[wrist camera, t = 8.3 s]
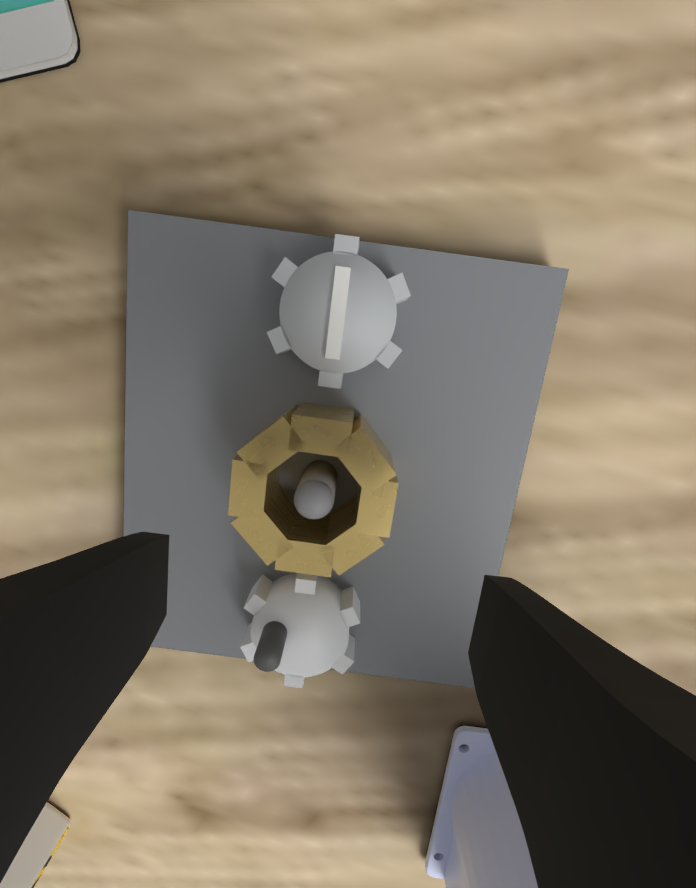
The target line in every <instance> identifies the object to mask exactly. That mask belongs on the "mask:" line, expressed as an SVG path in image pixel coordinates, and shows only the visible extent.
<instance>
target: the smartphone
mask: <svg viewBox="0 0 696 888" xmlns="http://www.w3.org/2000/svg"><path fill="white" fill-rule="evenodd" d="M79 53H80V40H79V36H78V32H77V28H76V25H75V21H74V17H73V13H72V10H71V6H70V2H69V0H0V83H1V82H5V81H9V80H13V79H17V78H22V77H26V76H30V75H34V74H39V73H43V72H47V71H51V70H55V69H60V68H64V67H68V66H69V65H71V64H73V63H74V62H76V60H77V58H78V56H79Z"/></svg>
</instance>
